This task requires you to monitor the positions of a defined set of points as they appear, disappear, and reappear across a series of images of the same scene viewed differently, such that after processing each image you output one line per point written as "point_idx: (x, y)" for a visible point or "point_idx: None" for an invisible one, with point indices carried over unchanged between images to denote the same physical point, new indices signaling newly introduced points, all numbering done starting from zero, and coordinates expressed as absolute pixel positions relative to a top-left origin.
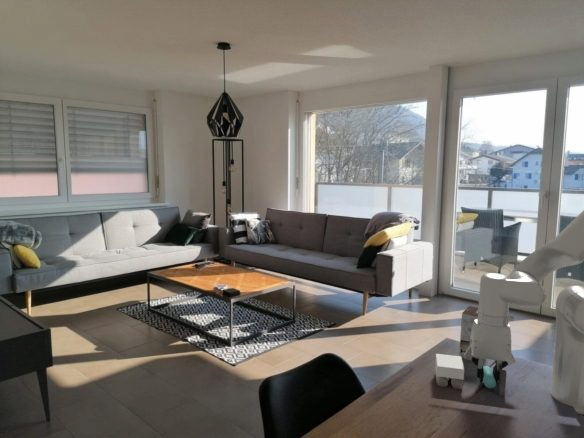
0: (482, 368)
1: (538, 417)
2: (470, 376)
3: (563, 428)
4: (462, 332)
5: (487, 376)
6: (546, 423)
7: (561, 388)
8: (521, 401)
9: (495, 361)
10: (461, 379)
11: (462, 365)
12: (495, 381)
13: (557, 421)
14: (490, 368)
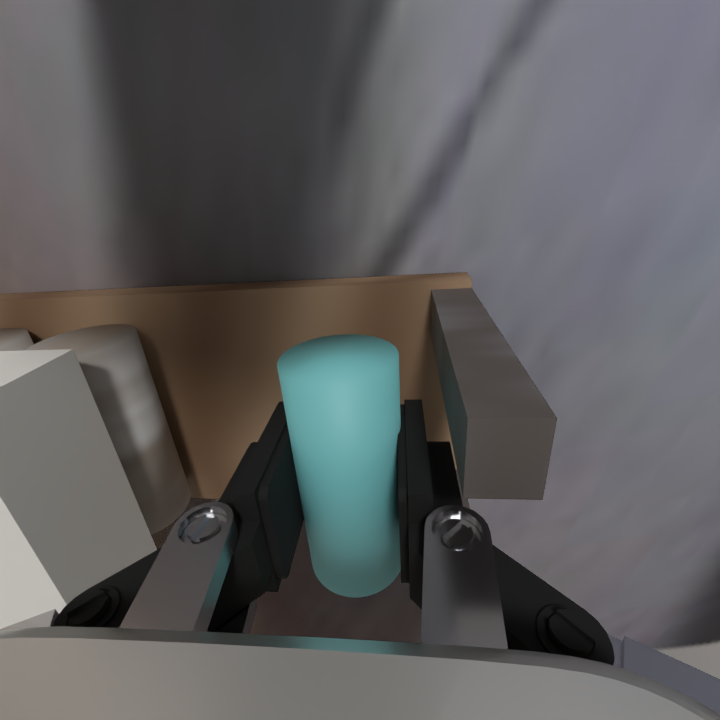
0: (268, 573)
1: (600, 579)
2: (238, 195)
3: (687, 628)
4: None
5: (330, 570)
6: (617, 610)
7: None
8: (569, 464)
9: (422, 591)
10: (153, 501)
11: (60, 609)
12: (398, 573)
13: (692, 591)
14: (381, 386)
